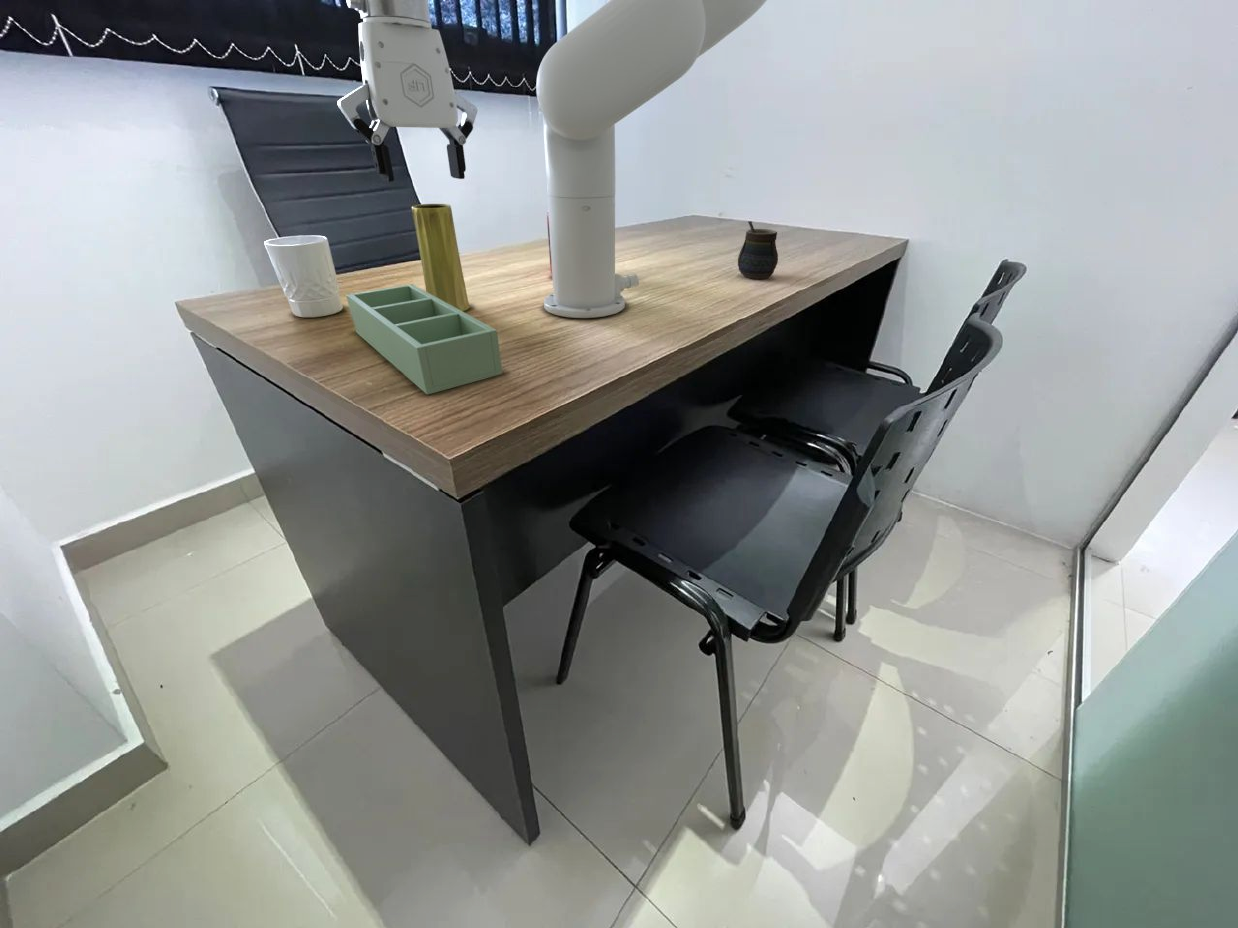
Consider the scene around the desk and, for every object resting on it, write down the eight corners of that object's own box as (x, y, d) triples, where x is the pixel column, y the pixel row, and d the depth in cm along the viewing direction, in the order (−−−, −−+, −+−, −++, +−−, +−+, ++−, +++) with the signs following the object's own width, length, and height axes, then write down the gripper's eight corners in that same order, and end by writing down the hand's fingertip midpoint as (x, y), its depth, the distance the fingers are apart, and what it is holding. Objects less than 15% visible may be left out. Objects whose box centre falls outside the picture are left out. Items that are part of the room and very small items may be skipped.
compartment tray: (420, 320, 74) (412, 284, 71) (502, 374, 58) (497, 330, 55) (356, 332, 69) (345, 294, 67) (427, 395, 53) (416, 348, 51)
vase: (470, 313, 77) (454, 208, 69) (428, 316, 76) (406, 209, 68) (468, 302, 82) (453, 202, 74) (428, 305, 80) (408, 204, 73)
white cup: (324, 321, 73) (300, 246, 68) (276, 317, 75) (249, 244, 69) (358, 305, 80) (339, 236, 74) (313, 302, 81) (292, 234, 76)
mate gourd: (782, 276, 97) (792, 218, 92) (762, 284, 93) (772, 223, 87) (748, 270, 101) (756, 215, 96) (728, 277, 96) (735, 219, 91)
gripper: (324, -4, 53) (366, 184, 62) (478, 18, 62) (495, 179, 71) (306, 6, 57) (348, 179, 67) (452, 25, 67) (471, 175, 76)
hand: (424, 179), depth 69 cm, fingers open, 9 cm apart
